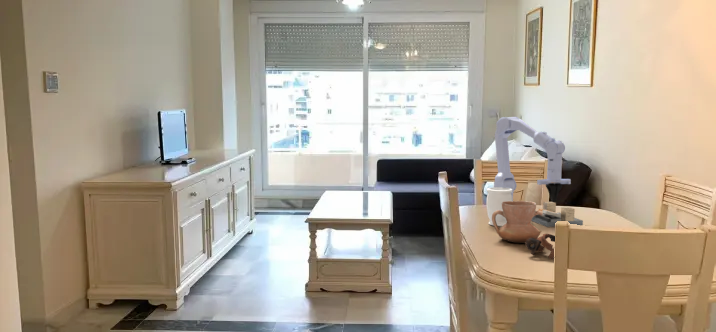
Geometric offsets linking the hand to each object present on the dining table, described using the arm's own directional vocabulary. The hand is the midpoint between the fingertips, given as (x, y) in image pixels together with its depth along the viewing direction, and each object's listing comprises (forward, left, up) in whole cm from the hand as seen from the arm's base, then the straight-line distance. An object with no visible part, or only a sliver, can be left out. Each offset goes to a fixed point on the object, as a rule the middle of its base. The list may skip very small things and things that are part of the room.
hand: (553, 201), depth 248 cm
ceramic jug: (-32, -31, -9) cm, 45 cm away
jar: (-26, -3, -9) cm, 28 cm away
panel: (-1, -3, -8) cm, 9 cm away
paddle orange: (-2, +1, -6) cm, 7 cm away
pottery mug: (-33, -52, -9) cm, 62 cm away
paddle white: (-2, -3, -6) cm, 7 cm away
